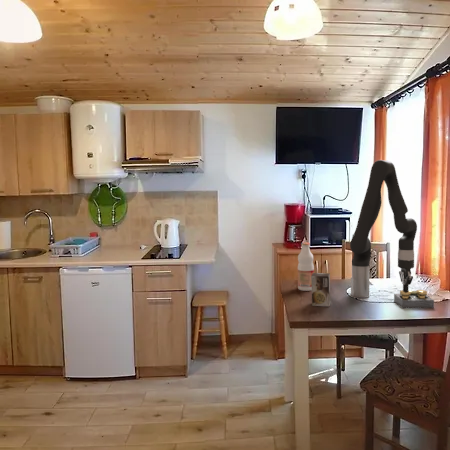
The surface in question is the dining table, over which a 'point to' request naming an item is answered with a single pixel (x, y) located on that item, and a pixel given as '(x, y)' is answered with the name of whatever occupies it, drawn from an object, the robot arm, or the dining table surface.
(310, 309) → the dining table surface
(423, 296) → the brass knob
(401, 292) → the brass knob
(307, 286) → the fruit juice
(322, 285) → the coffee box
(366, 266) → the robot arm
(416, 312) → the dining table surface
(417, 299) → the level base plate
